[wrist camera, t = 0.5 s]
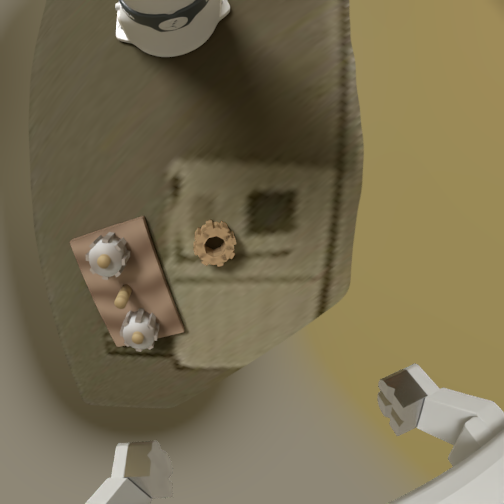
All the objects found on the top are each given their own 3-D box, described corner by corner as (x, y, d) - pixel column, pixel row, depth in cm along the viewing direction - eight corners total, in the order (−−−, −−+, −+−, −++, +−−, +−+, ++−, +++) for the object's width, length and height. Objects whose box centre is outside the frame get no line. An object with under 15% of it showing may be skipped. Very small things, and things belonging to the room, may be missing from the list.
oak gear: (189, 225, 49) (188, 232, 46) (228, 215, 50) (230, 220, 46) (200, 262, 52) (200, 271, 48) (238, 252, 52) (240, 260, 48)
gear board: (72, 239, 47) (57, 251, 41) (144, 215, 48) (136, 225, 42) (118, 342, 54) (112, 363, 48) (184, 327, 55) (183, 348, 49)
